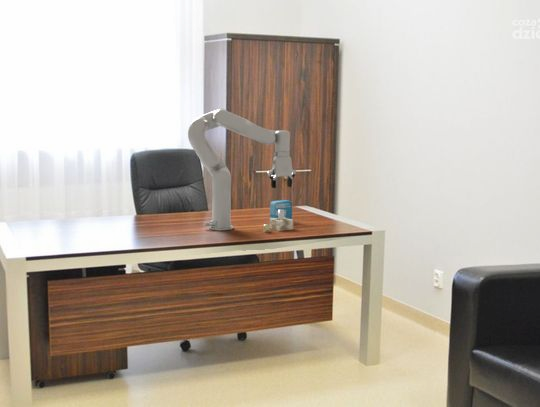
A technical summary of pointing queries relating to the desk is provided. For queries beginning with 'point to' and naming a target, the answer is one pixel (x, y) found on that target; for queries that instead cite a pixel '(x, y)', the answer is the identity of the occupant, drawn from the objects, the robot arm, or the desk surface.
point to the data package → (279, 205)
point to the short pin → (266, 228)
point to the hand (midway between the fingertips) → (281, 187)
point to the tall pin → (281, 214)
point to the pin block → (281, 224)
